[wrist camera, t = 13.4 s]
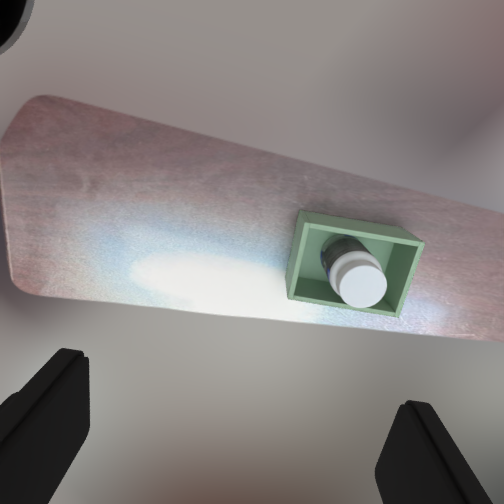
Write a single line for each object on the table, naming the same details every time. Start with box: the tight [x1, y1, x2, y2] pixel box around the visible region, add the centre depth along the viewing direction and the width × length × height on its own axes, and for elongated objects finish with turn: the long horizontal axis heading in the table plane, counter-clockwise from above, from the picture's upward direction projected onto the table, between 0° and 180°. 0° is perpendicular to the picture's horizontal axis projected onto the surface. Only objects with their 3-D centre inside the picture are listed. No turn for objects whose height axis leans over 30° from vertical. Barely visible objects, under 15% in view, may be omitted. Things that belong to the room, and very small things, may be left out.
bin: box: [285, 210, 425, 318], centre depth 33 cm, size 11×8×6 cm
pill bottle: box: [320, 234, 387, 308], centre depth 31 cm, size 5×5×8 cm
